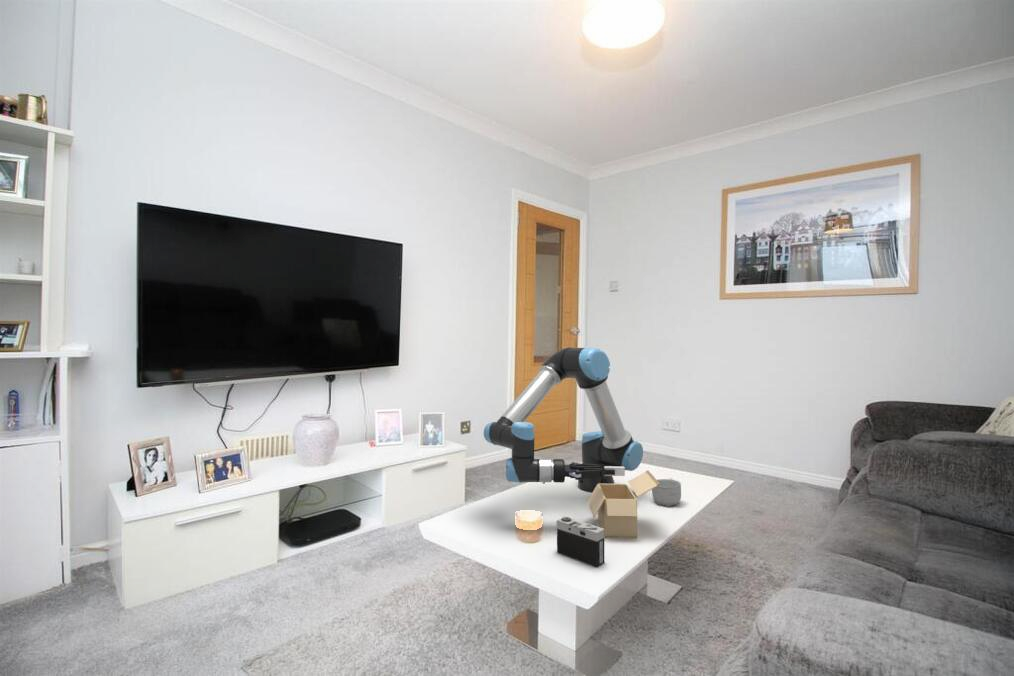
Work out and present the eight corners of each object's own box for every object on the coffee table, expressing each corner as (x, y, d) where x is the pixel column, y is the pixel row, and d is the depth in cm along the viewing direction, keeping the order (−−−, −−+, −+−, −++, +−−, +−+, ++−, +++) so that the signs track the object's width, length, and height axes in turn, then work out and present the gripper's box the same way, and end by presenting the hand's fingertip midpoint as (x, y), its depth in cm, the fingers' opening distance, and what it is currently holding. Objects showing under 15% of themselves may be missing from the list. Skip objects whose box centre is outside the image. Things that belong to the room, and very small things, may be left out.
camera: (612, 558, 138) (612, 523, 138) (596, 568, 132) (596, 531, 132) (572, 544, 148) (572, 511, 148) (555, 553, 142) (555, 518, 142)
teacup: (673, 510, 176) (673, 488, 176) (646, 503, 184) (646, 482, 184) (689, 500, 187) (689, 479, 187) (662, 494, 194) (662, 474, 194)
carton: (594, 540, 150) (594, 501, 150) (586, 515, 171) (586, 481, 171) (639, 541, 149) (638, 502, 149) (625, 516, 170) (625, 481, 171)
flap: (637, 496, 152) (659, 483, 152) (627, 481, 168) (647, 470, 167) (638, 497, 152) (660, 484, 152) (628, 482, 168) (648, 471, 167)
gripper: (551, 476, 167) (620, 477, 166) (553, 487, 154) (628, 488, 153) (551, 454, 167) (620, 455, 166) (553, 464, 154) (628, 464, 153)
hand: (624, 471), depth 160 cm, fingers closed
